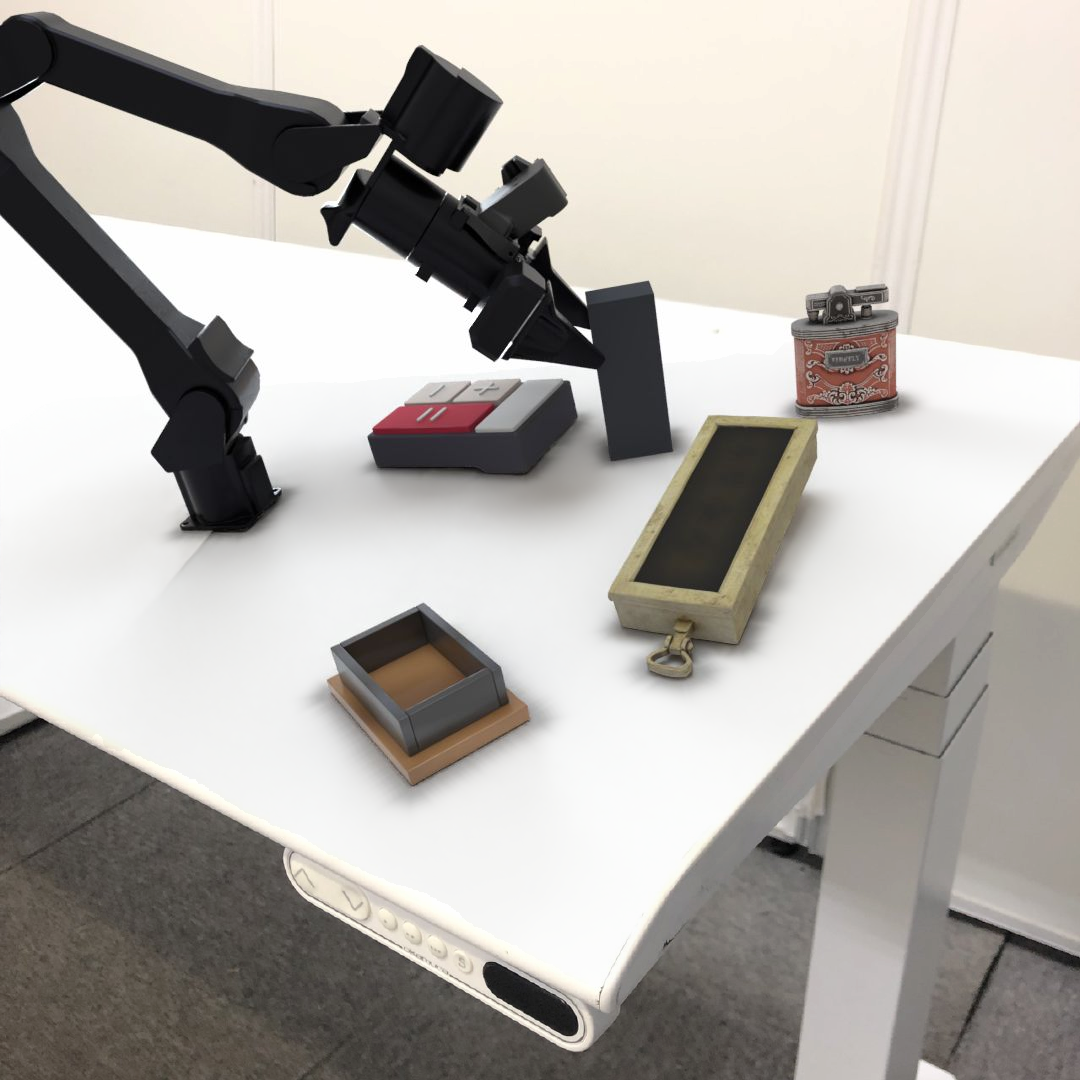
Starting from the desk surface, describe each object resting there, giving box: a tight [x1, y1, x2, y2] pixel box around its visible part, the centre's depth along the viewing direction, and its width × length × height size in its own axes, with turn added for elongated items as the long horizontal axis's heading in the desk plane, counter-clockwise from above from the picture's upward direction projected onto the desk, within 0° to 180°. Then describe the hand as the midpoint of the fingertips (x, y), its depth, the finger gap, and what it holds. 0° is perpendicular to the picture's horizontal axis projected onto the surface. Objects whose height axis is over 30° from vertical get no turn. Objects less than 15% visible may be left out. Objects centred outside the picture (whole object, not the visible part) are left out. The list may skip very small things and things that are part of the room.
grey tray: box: [326, 602, 531, 786], centre depth 59 cm, size 11×8×4 cm
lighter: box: [790, 283, 899, 419], centre depth 82 cm, size 8×3×10 cm, turn 80°
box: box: [607, 414, 819, 678], centre depth 65 cm, size 8×22×5 cm, turn 154°
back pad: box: [584, 280, 674, 462], centre depth 81 cm, size 5×4×13 cm
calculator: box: [366, 378, 578, 474], centre depth 90 cm, size 11×4×15 cm
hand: (598, 343), depth 80 cm, fingers open, 9 cm apart
